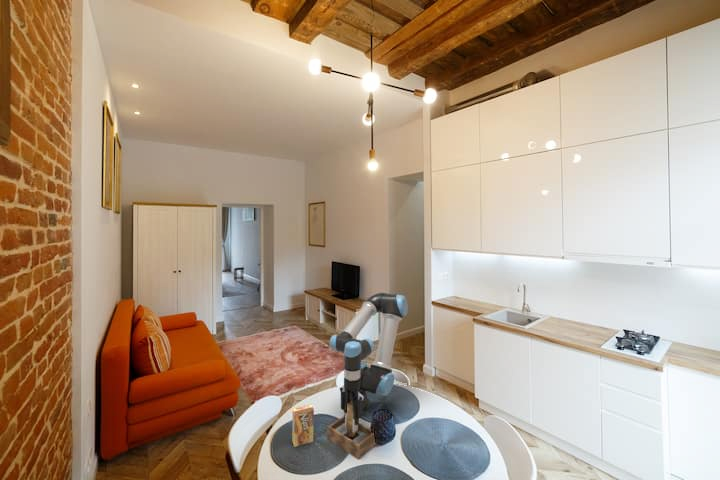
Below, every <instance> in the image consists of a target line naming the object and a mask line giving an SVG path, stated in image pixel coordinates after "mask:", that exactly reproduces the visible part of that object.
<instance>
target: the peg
mask: <svg viewBox="0 0 720 480" xmlns="http://www.w3.org/2000/svg"><path fill="white" fill-rule="evenodd" d="M353 417H354V411H353V403H352V401H350V402H348V403H347V436H348V437H349V438H354V436H355V435H356V432H354V433H353V432H352V430H353Z"/></svg>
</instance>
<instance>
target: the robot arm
mask: <svg viewBox="0 0 720 480" xmlns="http://www.w3.org/2000/svg"><path fill="white" fill-rule="evenodd" d="M408 305H409V304H408V300H407V298H406V296H405V295H401V294H397V293H395V294H394V293H385V292H378V293H375V294H373V295H370V296H369V297H368V298H367V299H366V300H365V301H364V302H363V303H362V305H361V308H360V309H359V311H358V312H357V313H356V314H355V315H354V316H353V318H352V319H351V320H350V322H348V324H347V325H346V326H345V328H344V329H343V330H342V331H341V333H339V334H333V335H332V336H331V337H330V339H329V347H330V349H331V350H333V351H335V352H338V353H343V355H344V360H343V361H344V363H343V365H344V367H343V369H344V370H343V386H341V387H340V388H339V391H340V409H341V411H342V410H343V416H344V419H345V428H347V403H348V402H350V401H352V403H353V411H354V417H353V430H352V432H353V433H354V432H356V431H357V430H358V424H359V423H360V418H362V417H363V415H364V412H366V411H367V410H368V409H369V407H370V400H369V396H368V393H370V394H375V395H376V396H381V397H385V396H388V395H389V394H390V393H391V391H392V389H393V386H394V383H395V375H394V373H392V371H393V369H392V367H391V361H392V357H393V353H394V348H395V342H396V337H397V334H398V333H397V332H398V327H399V322H401V321H402V320H403V317H406V316H407V314H408V309H409V306H408ZM377 313H378V314H379V313H382V315H381V316H382V317H383V322H382V326H381V331H380V335H379V341H378V344H377V349H376V355H375V358H374V361H373V362H371V364H370V366H368V365H367V362H366V361H364V359H365V358H368V357H369V356H371V354H372V353H373V352H374V350H375V345H374V342H373V340H372V339H370V338H364V339H362V340H361V339H357V336H358V335H359V334H360V333H361V331H362V330H363V328H365V326H366V325H367V324H368V322H369V320H370V319H372V317H373V316H375V315H377Z"/></svg>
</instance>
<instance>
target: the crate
mask: <svg viewBox="0 0 720 480" xmlns="http://www.w3.org/2000/svg"><path fill="white" fill-rule="evenodd" d="M326 429H327V431H326V432H327V434H326V435H327V437H326V438H327V440H328V441H330V442H331V443H333V444H335V445H337V446H338V447H339V448H340V449H342V450H344V451H345V452H346V453H348V454H349V455H351V456H353V457H354V458H356V459H357V460H359V459H361V458H362V457H363V456H364V455H365V454H366V453H368V452H369V451H370V450H372V448H373V447H374V446H376V445H377V442H376V443H375V439H374V433H372V432H371V430H372V429H371V428H369V427H367V426H366V425H364V424H362V423H360V422H359V424H358V430H357V431H356V435H355V436H354V437H353V439H351V437H348V436H347V428H345V419H344V415H343V416H342V417H340V418H339V419H336V420H335V421H334V422H333V423H331V424H330V425H327V428H326Z"/></svg>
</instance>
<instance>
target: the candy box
mask: <svg viewBox="0 0 720 480" xmlns="http://www.w3.org/2000/svg"><path fill="white" fill-rule="evenodd" d="M314 410H315V409H314V407H313V405H312V404H308V405H304V406H303V405H302V406H299V407H295V408H292V423H291V424H292V426H291V427H292V433H291V437H292V438H291V441H292V444H293V447H294V448H296V447H299V446H303V445H306V444H310V443H314V424H315V423H314V419H315V418H314V415H315V413H314V412H315V411H314Z"/></svg>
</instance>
